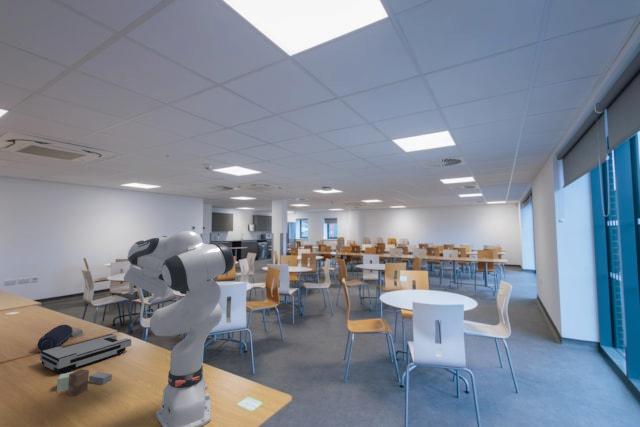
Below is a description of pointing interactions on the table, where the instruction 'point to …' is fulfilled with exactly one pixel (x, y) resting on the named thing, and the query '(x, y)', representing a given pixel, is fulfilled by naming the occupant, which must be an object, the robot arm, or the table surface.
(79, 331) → the packaged product
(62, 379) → the sage cube
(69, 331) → the portable speaker
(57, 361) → the game console
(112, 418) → the table surface
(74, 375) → the walnut column
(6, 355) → the table surface
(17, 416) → the table surface
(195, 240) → the robot arm
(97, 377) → the grey flat brick
